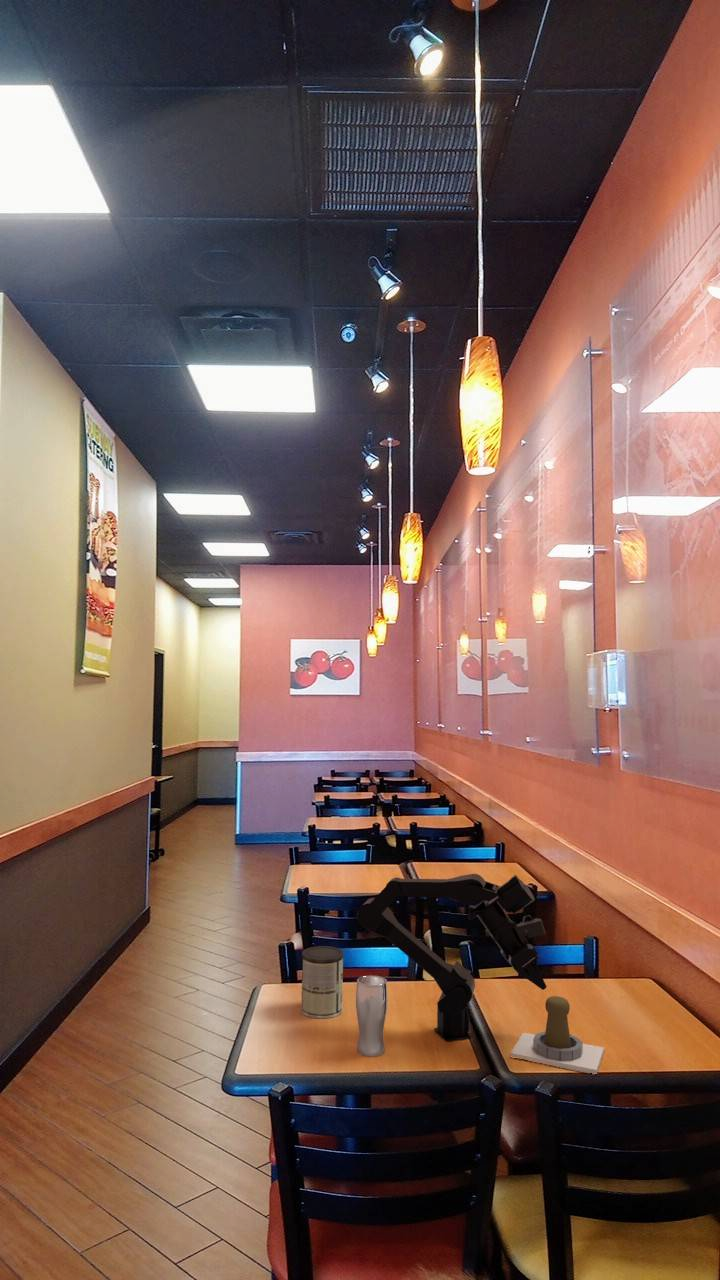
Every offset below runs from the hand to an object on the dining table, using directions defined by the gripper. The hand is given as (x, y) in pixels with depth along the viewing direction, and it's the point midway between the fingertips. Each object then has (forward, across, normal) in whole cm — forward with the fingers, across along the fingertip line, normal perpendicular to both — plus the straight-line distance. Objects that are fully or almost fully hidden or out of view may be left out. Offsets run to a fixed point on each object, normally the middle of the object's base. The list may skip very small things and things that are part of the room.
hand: (541, 984), depth 182 cm
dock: (+13, -2, +6) cm, 14 cm away
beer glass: (-11, -4, +39) cm, 41 cm away
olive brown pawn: (+12, -2, +6) cm, 14 cm away
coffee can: (-22, +17, +47) cm, 55 cm away
